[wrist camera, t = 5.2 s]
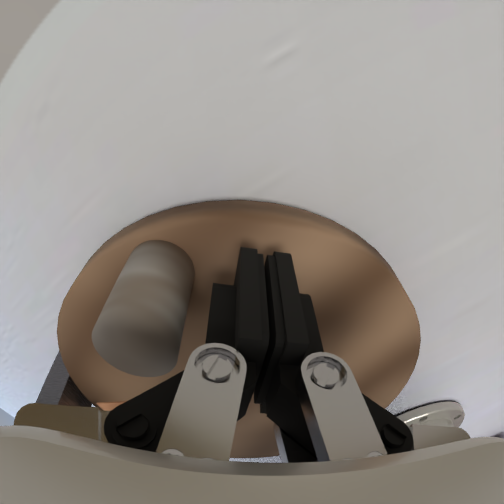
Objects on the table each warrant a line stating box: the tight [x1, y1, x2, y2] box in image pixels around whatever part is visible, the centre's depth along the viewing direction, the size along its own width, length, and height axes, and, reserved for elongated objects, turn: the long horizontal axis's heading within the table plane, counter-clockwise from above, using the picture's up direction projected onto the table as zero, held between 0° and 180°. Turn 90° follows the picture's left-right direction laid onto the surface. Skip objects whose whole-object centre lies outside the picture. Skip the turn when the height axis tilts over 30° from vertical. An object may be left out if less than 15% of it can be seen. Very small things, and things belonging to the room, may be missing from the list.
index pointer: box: [36, 350, 92, 407], centre depth 17 cm, size 3×4×6 cm
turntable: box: [57, 200, 421, 458], centre depth 15 cm, size 20×20×6 cm
